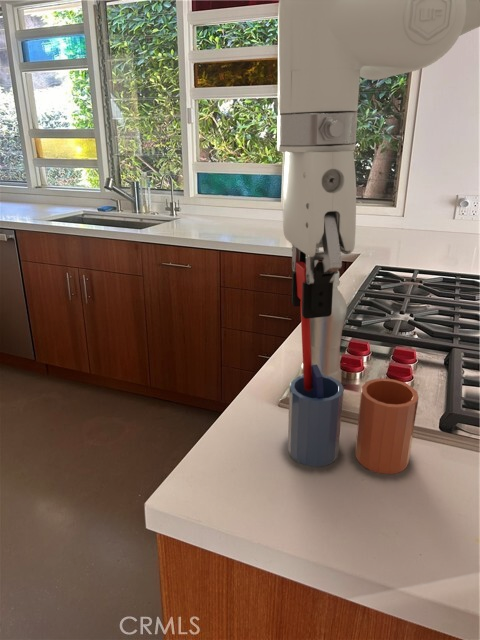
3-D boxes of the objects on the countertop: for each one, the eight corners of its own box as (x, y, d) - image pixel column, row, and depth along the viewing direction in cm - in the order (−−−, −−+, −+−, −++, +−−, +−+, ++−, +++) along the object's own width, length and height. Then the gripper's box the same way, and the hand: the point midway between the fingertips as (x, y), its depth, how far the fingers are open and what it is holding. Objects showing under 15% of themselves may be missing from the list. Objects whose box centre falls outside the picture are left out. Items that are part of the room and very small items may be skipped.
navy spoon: (322, 441, 61) (317, 363, 54) (327, 454, 59) (323, 376, 52) (316, 442, 61) (310, 365, 54) (320, 456, 59) (315, 378, 52)
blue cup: (327, 435, 63) (331, 371, 60) (345, 466, 58) (351, 397, 54) (282, 441, 62) (283, 376, 58) (296, 473, 56) (299, 403, 53)
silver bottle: (320, 378, 78) (326, 262, 70) (349, 395, 73) (360, 273, 65) (290, 389, 75) (293, 269, 67) (318, 408, 69) (325, 281, 62)
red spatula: (308, 383, 57) (303, 261, 51) (316, 396, 55) (312, 268, 49) (300, 385, 57) (294, 262, 51) (308, 398, 55) (303, 270, 48)
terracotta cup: (391, 441, 62) (400, 376, 58) (417, 473, 56) (429, 403, 52) (346, 447, 61) (352, 381, 57) (368, 481, 55) (376, 410, 51)
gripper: (393, 133, 38) (375, 336, 45) (323, 132, 53) (317, 285, 60) (306, 137, 37) (301, 344, 44) (259, 135, 52) (261, 290, 59)
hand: (310, 309), depth 52 cm, fingers closed on red spatula, 3 cm apart
